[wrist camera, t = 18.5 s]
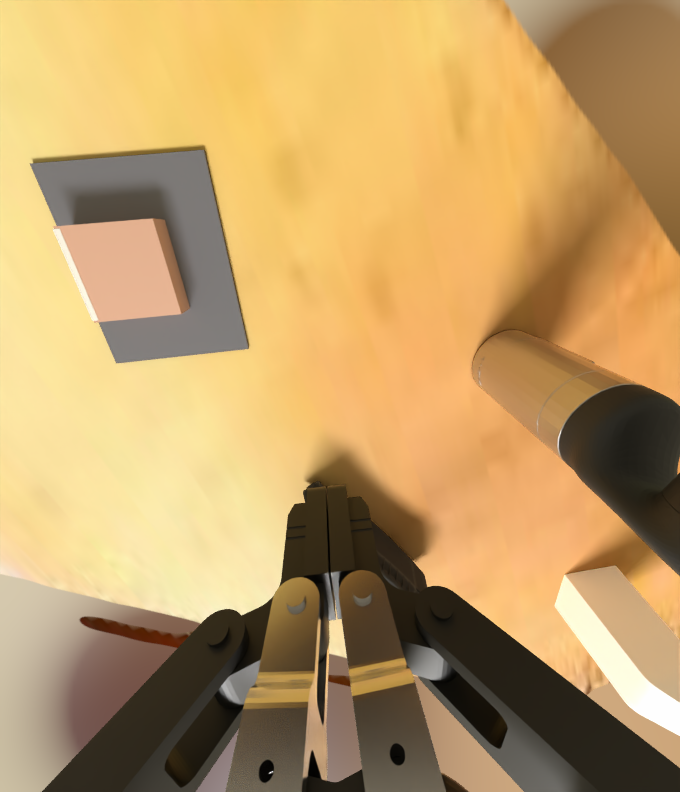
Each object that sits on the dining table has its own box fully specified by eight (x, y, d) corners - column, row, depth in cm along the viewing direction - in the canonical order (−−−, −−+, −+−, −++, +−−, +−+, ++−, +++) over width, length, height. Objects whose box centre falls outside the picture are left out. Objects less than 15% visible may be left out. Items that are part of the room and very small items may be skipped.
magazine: (289, 522, 42) (425, 670, 46) (308, 510, 42) (444, 661, 46) (312, 464, 59) (410, 577, 63) (325, 455, 58) (424, 569, 62)
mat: (204, 150, 31) (203, 149, 31) (248, 347, 40) (248, 348, 40) (33, 164, 30) (29, 163, 30) (118, 362, 39) (116, 363, 39)
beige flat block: (152, 218, 30) (51, 226, 30) (181, 314, 34) (93, 322, 34) (164, 219, 33) (72, 227, 32) (190, 308, 37) (109, 316, 37)
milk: (564, 574, 70) (692, 743, 47) (615, 565, 70) (767, 728, 47) (554, 606, 75) (664, 771, 52) (601, 597, 76) (732, 757, 53)
